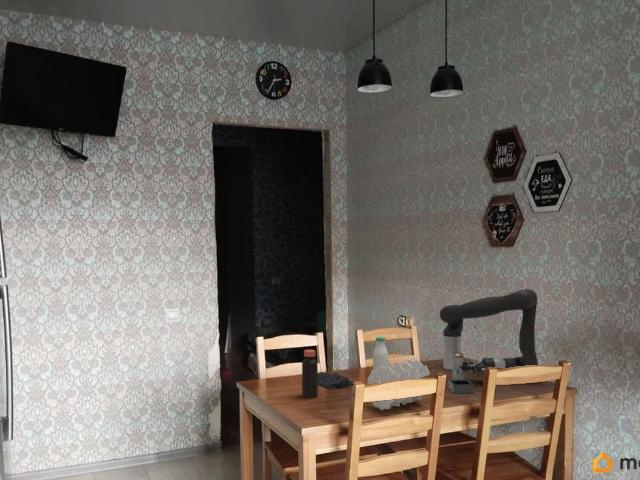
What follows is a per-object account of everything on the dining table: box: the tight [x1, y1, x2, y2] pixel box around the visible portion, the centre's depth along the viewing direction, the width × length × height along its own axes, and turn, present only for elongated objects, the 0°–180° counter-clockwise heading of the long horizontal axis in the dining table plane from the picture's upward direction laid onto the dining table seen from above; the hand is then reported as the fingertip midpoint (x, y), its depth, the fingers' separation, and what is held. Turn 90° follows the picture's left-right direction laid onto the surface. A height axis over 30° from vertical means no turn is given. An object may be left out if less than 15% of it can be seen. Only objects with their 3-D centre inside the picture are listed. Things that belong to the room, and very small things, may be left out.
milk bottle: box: [372, 336, 390, 370], centre depth 284 cm, size 8×8×20 cm
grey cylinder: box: [452, 352, 465, 380], centre depth 273 cm, size 5×5×14 cm
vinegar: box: [301, 349, 319, 399], centre depth 253 cm, size 7×7×20 cm
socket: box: [448, 379, 475, 394], centre depth 260 cm, size 9×9×4 cm
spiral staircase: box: [366, 358, 430, 411], centre depth 239 cm, size 18×18×25 cm
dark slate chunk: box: [318, 372, 355, 390], centre depth 276 cm, size 15×22×5 cm
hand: (459, 366), depth 273 cm, fingers open, 8 cm apart
